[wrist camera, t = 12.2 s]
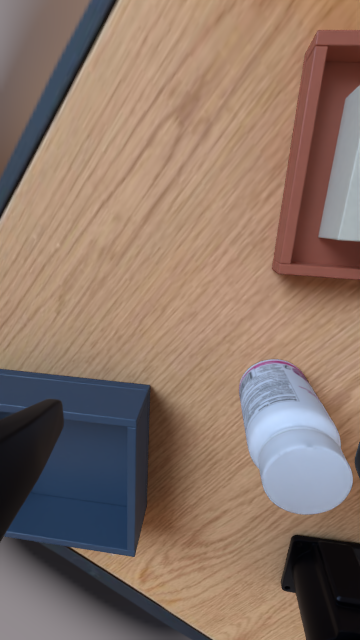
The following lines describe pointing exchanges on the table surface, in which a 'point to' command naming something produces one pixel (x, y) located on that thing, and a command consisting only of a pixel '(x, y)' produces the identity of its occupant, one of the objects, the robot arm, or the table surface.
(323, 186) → the tray
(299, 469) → the pill bottle
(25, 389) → the box
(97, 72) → the table surface
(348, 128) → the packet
